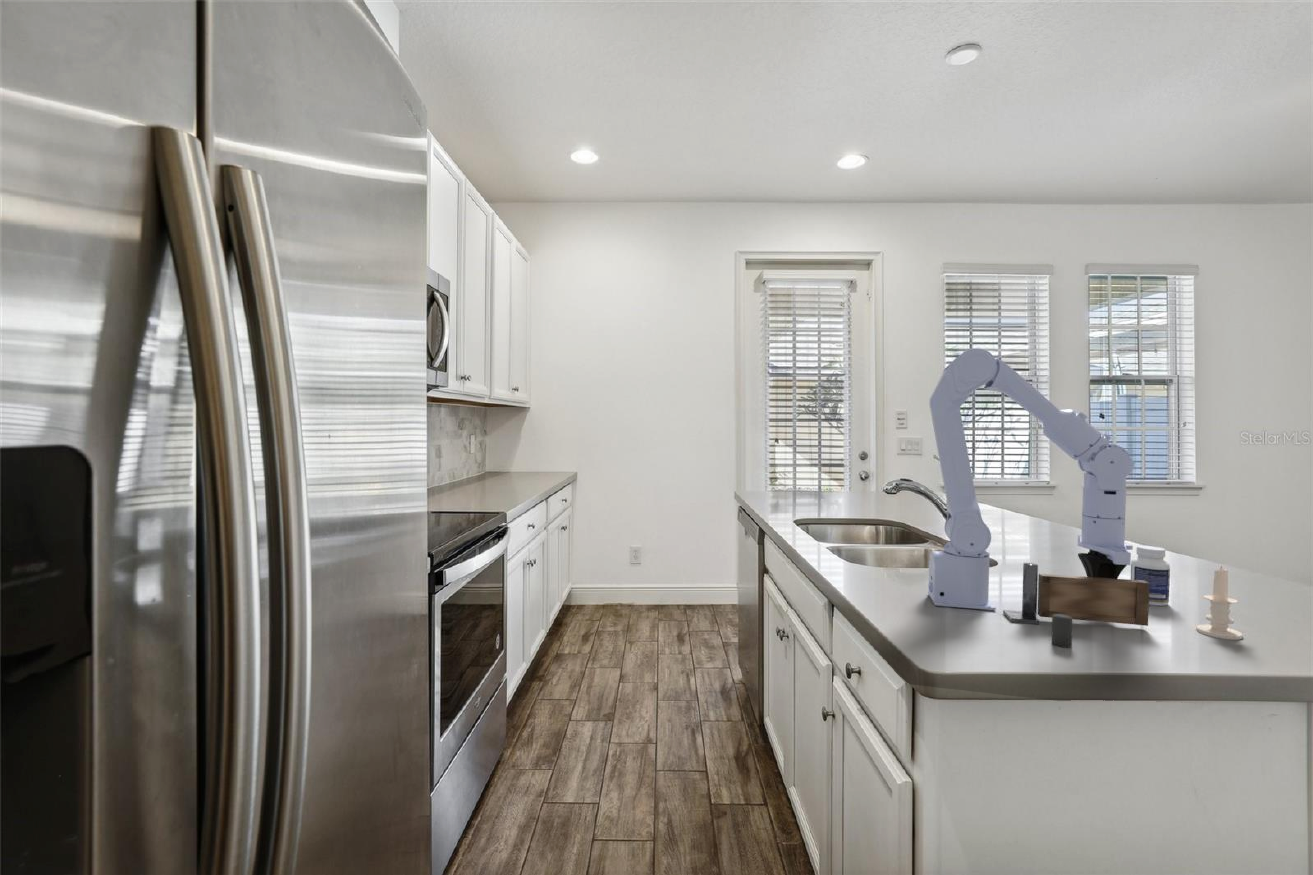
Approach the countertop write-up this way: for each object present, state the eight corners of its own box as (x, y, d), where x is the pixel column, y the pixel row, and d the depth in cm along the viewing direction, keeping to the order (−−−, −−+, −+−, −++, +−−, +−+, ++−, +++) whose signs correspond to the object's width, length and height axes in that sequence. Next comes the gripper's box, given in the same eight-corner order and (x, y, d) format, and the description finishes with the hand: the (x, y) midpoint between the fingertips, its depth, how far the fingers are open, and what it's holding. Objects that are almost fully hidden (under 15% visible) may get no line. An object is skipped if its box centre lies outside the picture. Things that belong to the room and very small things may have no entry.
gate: (1040, 617, 98) (1041, 576, 97) (1037, 613, 99) (1038, 573, 99) (1148, 625, 94) (1149, 583, 94) (1142, 622, 95) (1144, 580, 95)
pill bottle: (1176, 607, 106) (1178, 551, 105) (1140, 605, 107) (1142, 550, 106) (1157, 598, 111) (1159, 545, 111) (1123, 596, 112) (1125, 543, 112)
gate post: (1011, 622, 97) (1012, 566, 97) (1003, 613, 102) (1004, 559, 101) (1040, 624, 96) (1042, 567, 96) (1031, 615, 101) (1033, 561, 100)
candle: (1188, 630, 94) (1191, 563, 94) (1207, 626, 96) (1209, 560, 96) (1231, 642, 90) (1234, 571, 89) (1250, 637, 92) (1252, 568, 91)
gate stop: (1055, 646, 87) (1056, 618, 87) (1049, 640, 89) (1049, 613, 89) (1074, 648, 86) (1075, 620, 86) (1067, 642, 89) (1068, 614, 89)
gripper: (1155, 525, 92) (1152, 614, 93) (1111, 511, 106) (1108, 588, 107) (1101, 522, 94) (1098, 610, 94) (1065, 509, 108) (1062, 585, 108)
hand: (1100, 598), depth 101 cm, fingers closed
